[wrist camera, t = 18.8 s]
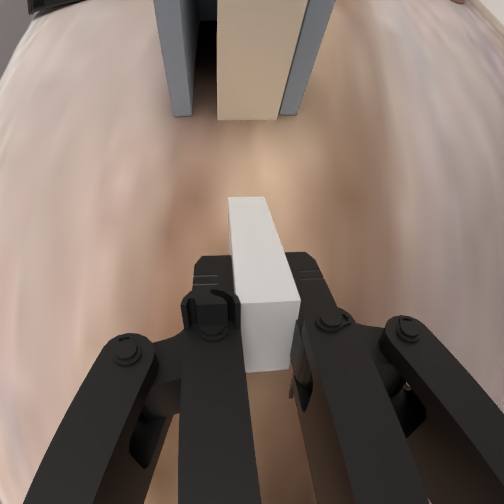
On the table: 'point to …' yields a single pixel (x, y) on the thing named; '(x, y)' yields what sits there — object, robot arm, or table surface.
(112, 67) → the table surface
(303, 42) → the housing
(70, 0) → the magazine
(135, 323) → the table surface
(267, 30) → the tile
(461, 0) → the hourglass
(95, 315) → the table surface
